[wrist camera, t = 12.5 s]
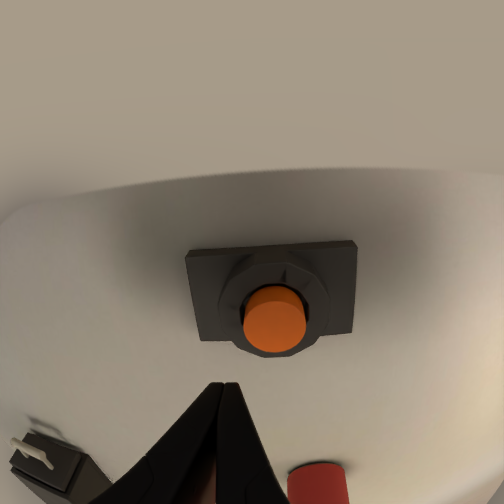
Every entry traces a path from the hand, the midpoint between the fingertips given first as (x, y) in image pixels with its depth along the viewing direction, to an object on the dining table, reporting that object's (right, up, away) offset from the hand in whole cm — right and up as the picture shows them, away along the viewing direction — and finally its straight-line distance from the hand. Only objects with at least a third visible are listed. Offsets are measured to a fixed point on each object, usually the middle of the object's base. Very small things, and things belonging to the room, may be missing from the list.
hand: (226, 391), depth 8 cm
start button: (+2, +1, +8) cm, 9 cm away
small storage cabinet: (-27, -30, +24) cm, 47 cm away
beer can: (+8, -21, +19) cm, 29 cm away
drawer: (-27, -26, +21) cm, 44 cm away
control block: (+2, +2, +11) cm, 11 cm away
